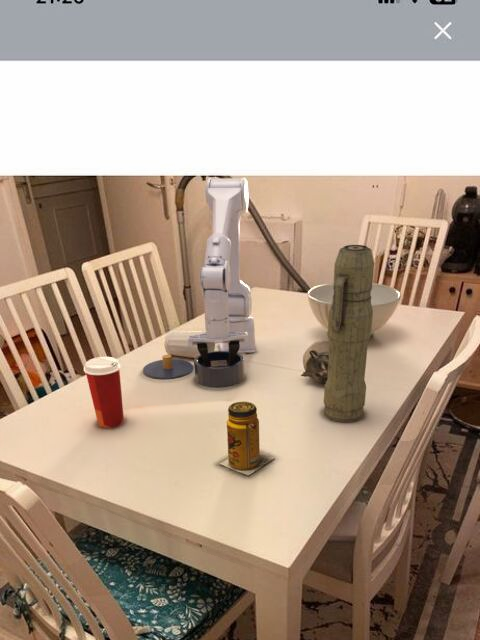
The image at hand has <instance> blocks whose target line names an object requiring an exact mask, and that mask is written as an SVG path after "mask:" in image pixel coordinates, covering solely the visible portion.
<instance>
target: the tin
mask: <svg viewBox="0 0 480 640" xmlns="http://www.w3.org/2000/svg"><path fill="white" fill-rule="evenodd" d="M219 360H226V361H227V365H228V366H227V367H219V368H215V367H211V361H219ZM208 363H209V367H206V366H205V363H204V361H203V359H202V357H201V355H198V356H197V357H196V358H195V359H194V358H193V369H194V381H195V382H196V383H197V385H200V386H202V387H206V388H213V389H223V388H229V387H234V386H236V385H239V384H241V383H242V382H243V381H244V379H245V358H244V356H243V355H242V354H240V353H239V352H238V353H237V355H236V357H235V360H234V364H233V365H232V366H229V351H221V350H215V351H212V352H208Z"/></svg>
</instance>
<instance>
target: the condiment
mask: <svg viewBox="0 0 480 640" xmlns="http://www.w3.org/2000/svg"><path fill="white" fill-rule="evenodd" d="M257 411H258V409H257V406H256V405H255V403H252V402H249V401H236V402H233V403H231V404H230V405H229V406H228V408H227V412H228V414H227V417H228V418H227V420H226V435H227V438H226V439H227V455H228V457H227V459H225V460H223V461H222V462H220V463H218V464H219V465H221V466H223V467H226V468H228V469H230V470H232V471H235V472H237V473H240V474H243V475H246V476H250V475H252V474H253V473H255V472H256V471H258V470H260V469H261V468H262V467H264V466H265V465H266V464H268V463H270V462H272V460H273V459H275V458H276V456H273V455H269V454H266V453H263V452H261V451H260V420H259V418H258V413H257Z"/></svg>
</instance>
